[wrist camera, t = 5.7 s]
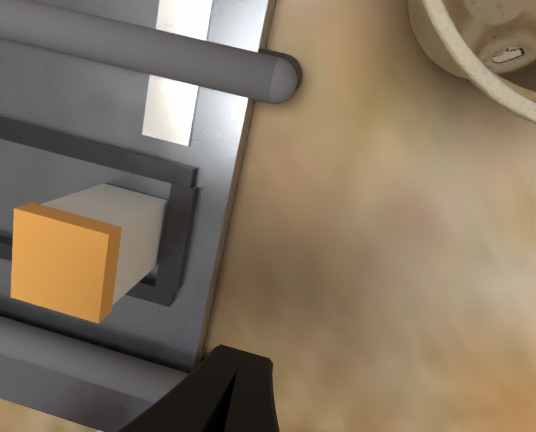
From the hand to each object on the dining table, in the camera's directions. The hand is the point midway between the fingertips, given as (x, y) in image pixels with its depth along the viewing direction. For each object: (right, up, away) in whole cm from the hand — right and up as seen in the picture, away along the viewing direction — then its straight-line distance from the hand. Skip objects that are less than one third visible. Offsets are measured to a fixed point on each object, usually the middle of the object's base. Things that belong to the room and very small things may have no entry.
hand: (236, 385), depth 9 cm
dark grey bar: (-11, -2, +12) cm, 16 cm away
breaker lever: (-5, +4, +8) cm, 10 cm away
